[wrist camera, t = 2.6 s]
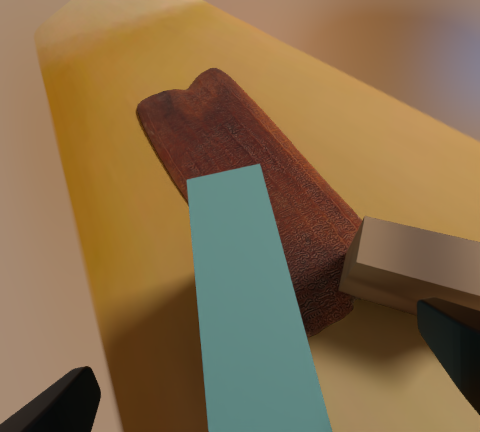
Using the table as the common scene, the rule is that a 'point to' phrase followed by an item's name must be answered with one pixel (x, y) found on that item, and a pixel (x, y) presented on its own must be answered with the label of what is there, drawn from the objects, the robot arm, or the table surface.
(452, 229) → the table surface
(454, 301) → the walnut notched bar
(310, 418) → the teal flat block
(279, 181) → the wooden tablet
